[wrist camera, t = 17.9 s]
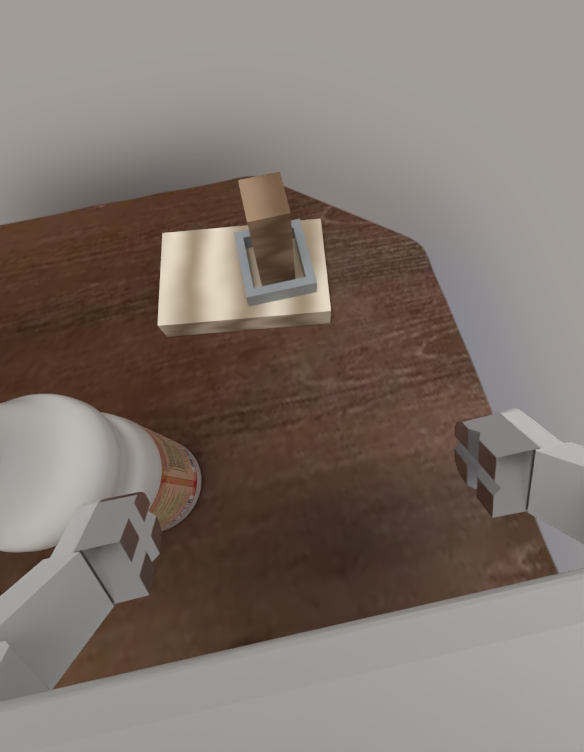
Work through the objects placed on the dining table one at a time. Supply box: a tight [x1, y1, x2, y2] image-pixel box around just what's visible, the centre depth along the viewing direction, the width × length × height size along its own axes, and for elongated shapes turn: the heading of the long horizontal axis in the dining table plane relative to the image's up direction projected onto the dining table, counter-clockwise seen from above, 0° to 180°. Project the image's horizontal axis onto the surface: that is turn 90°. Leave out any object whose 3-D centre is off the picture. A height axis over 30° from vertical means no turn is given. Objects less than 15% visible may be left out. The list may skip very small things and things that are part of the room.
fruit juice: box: [0, 394, 202, 552], centre depth 27 cm, size 9×9×28 cm
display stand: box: [158, 219, 331, 337], centre depth 47 cm, size 20×13×3 cm, turn 94°
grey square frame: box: [234, 219, 317, 306], centre depth 44 cm, size 8×9×2 cm
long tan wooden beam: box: [238, 172, 295, 286], centre depth 40 cm, size 4×5×11 cm
